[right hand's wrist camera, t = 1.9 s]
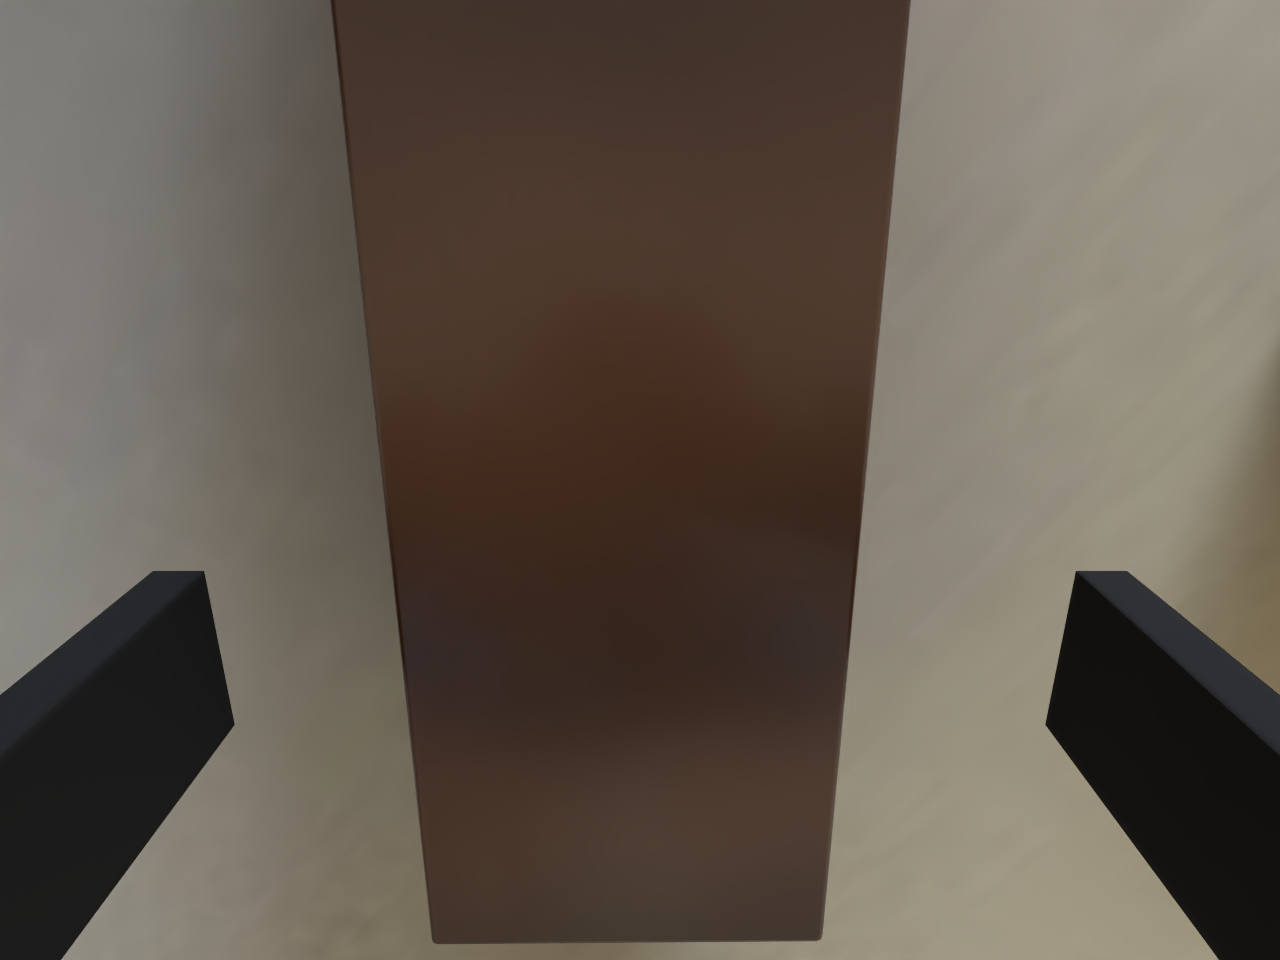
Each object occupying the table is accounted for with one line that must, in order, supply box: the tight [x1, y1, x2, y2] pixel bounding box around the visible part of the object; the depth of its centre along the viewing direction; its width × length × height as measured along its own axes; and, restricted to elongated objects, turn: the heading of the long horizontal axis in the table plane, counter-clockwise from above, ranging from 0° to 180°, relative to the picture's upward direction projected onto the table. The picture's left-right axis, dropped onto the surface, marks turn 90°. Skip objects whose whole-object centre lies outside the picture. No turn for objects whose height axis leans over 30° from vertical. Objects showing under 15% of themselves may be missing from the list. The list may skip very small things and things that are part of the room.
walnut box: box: [330, 0, 911, 944], centre depth 12 cm, size 26×6×8 cm, turn 0°
